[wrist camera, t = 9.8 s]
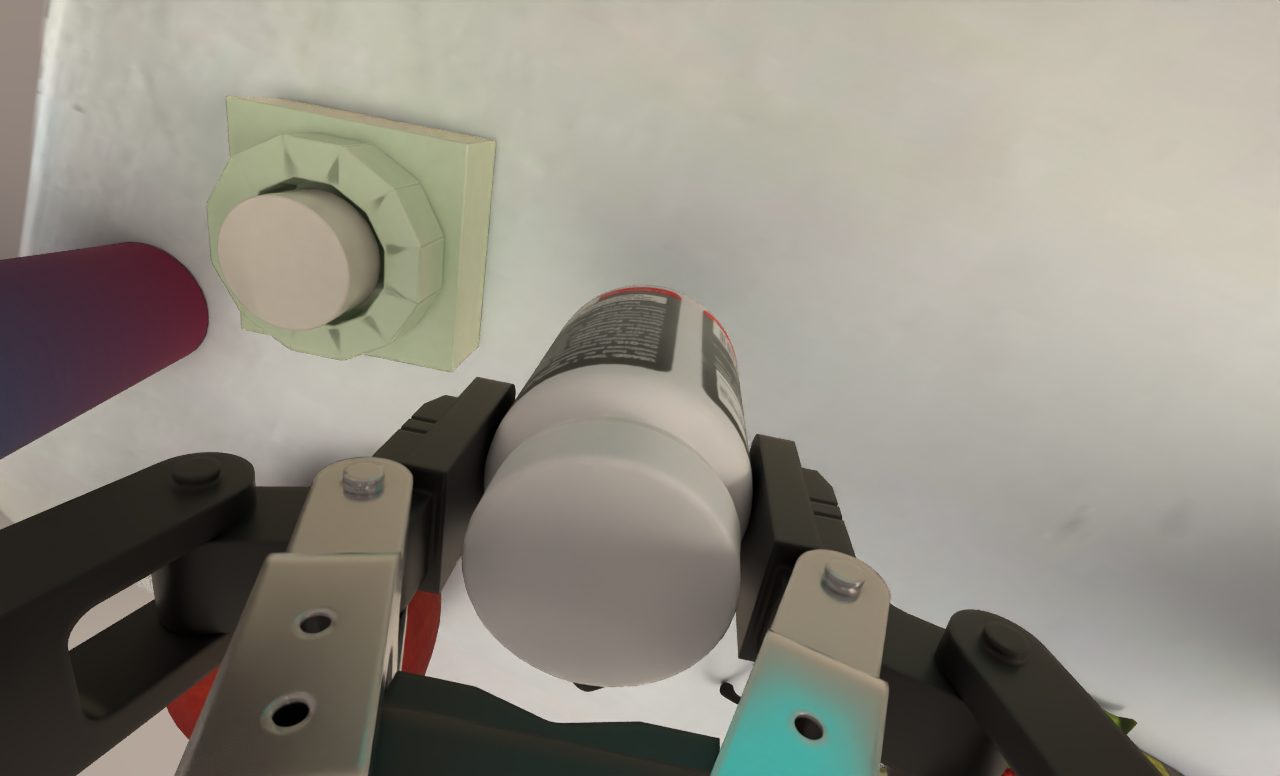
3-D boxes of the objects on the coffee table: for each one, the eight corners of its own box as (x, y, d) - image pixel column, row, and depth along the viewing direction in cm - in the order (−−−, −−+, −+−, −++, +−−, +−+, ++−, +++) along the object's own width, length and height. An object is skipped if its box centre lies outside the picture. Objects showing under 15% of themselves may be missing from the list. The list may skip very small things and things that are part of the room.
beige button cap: (382, 200, 20) (349, 210, 18) (380, 323, 22) (348, 343, 20) (257, 175, 20) (210, 182, 18) (263, 299, 22) (221, 317, 20)
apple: (517, 557, 30) (434, 748, 21) (392, 652, 34) (273, 853, 24) (362, 416, 28) (195, 560, 19) (244, 531, 31) (52, 702, 22)
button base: (496, 140, 23) (444, 146, 19) (478, 346, 27) (430, 394, 22) (281, 98, 24) (177, 93, 19) (289, 307, 27) (201, 347, 22)
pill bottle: (526, 400, 17) (381, 622, 10) (606, 246, 16) (508, 368, 8) (679, 481, 18) (657, 754, 10) (774, 341, 16) (834, 542, 8)
